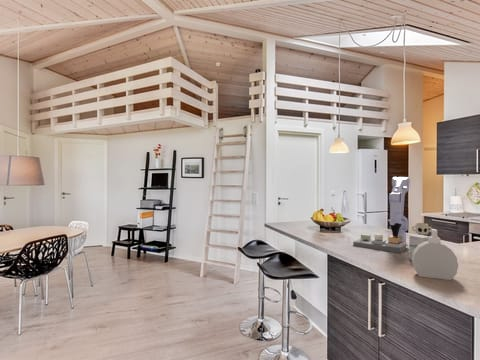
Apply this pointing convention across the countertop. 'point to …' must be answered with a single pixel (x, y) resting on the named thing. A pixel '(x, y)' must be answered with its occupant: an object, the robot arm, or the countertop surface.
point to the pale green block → (365, 236)
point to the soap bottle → (434, 259)
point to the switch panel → (381, 245)
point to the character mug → (421, 228)
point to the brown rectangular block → (395, 239)
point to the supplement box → (415, 242)
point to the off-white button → (378, 237)
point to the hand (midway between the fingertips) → (395, 236)
